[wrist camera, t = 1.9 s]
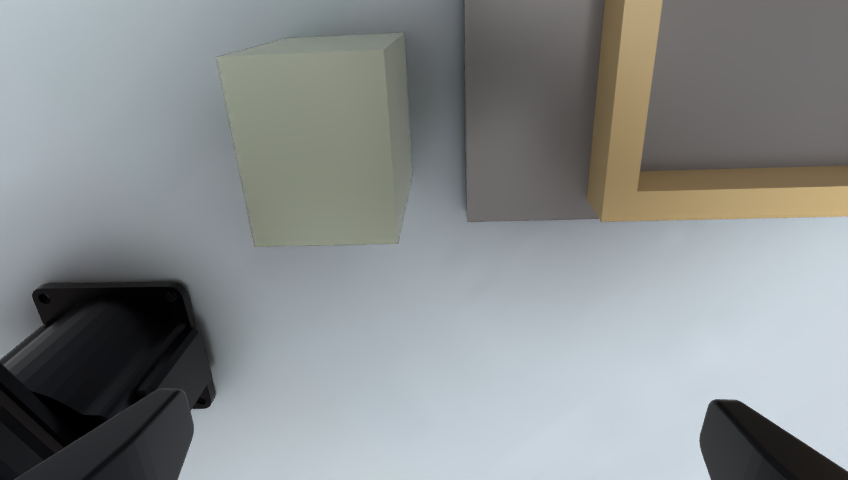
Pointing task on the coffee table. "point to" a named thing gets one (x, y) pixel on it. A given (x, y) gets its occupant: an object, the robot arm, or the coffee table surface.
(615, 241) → the coffee table surface
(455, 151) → the coffee table surface
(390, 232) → the block
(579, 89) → the socket dock
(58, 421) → the robot arm
